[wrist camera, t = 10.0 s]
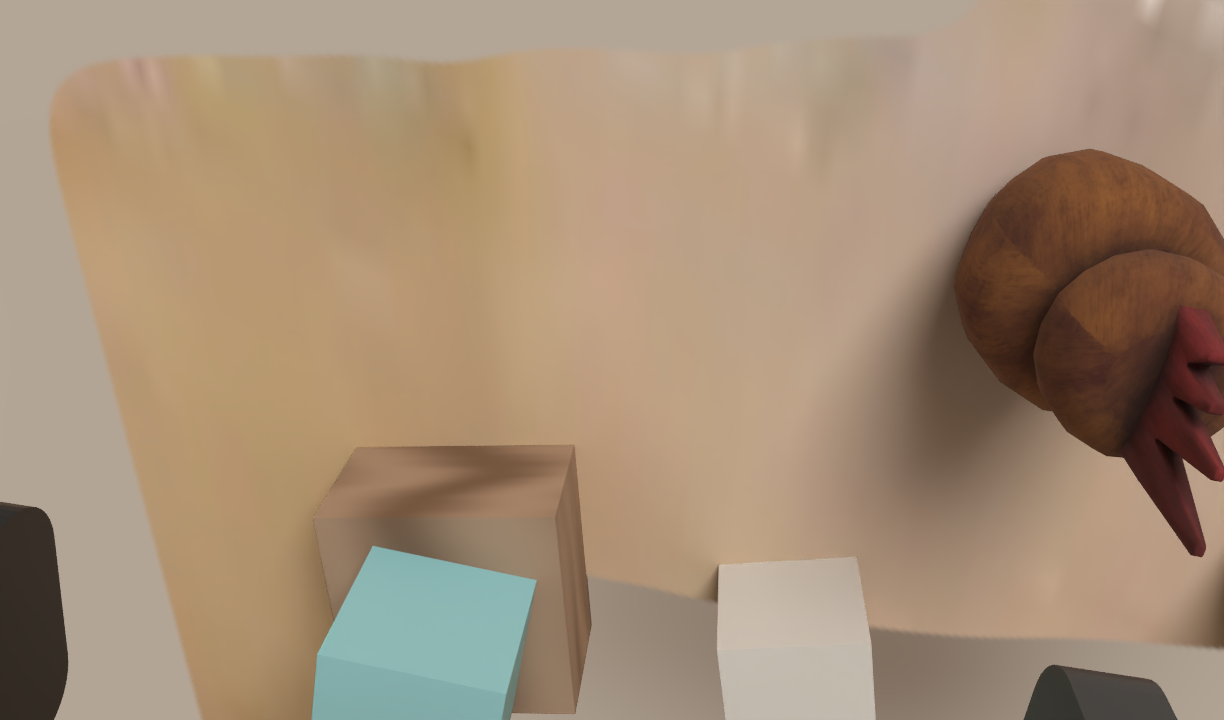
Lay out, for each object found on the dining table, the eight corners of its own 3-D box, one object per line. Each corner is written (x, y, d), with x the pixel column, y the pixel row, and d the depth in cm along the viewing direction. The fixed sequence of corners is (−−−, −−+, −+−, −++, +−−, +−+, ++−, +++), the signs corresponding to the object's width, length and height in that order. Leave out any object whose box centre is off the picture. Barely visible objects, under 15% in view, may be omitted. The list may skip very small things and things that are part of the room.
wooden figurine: (1049, 360, 38) (1226, 657, 24) (905, 271, 37) (1004, 526, 23) (1196, 191, 35) (1489, 418, 21) (1043, 91, 34) (1247, 260, 21)
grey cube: (856, 555, 42) (871, 643, 37) (863, 665, 44) (877, 761, 39) (718, 563, 42) (716, 650, 38) (731, 671, 44) (731, 766, 40)
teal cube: (536, 580, 37) (506, 694, 32) (513, 707, 40) (480, 831, 35) (372, 545, 38) (317, 653, 33) (358, 674, 40) (304, 794, 35)
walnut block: (575, 441, 41) (555, 516, 36) (591, 624, 44) (575, 714, 40) (358, 444, 42) (313, 518, 37) (390, 622, 45) (352, 710, 41)
